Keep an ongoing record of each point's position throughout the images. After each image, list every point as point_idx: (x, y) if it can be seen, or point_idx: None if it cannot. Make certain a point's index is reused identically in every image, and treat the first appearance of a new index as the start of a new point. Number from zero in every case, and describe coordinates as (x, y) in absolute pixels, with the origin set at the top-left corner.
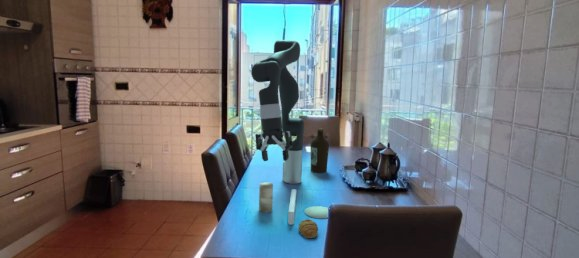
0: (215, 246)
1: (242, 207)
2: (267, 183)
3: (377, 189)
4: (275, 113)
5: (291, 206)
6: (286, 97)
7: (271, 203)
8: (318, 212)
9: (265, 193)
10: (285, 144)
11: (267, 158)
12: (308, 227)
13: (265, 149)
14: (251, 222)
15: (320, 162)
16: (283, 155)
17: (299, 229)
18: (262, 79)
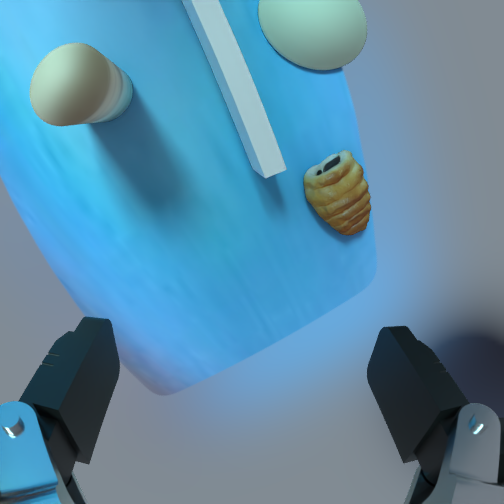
0: (152, 380)
1: (19, 133)
2: (65, 66)
3: None
4: None
5: (251, 114)
6: None
7: (126, 89)
8: (316, 24)
9: (94, 118)
10: (485, 479)
11: (103, 339)
12: (351, 217)
13: (56, 450)
14: (126, 226)
15: None
16: (392, 417)
17: (313, 207)
18: None
